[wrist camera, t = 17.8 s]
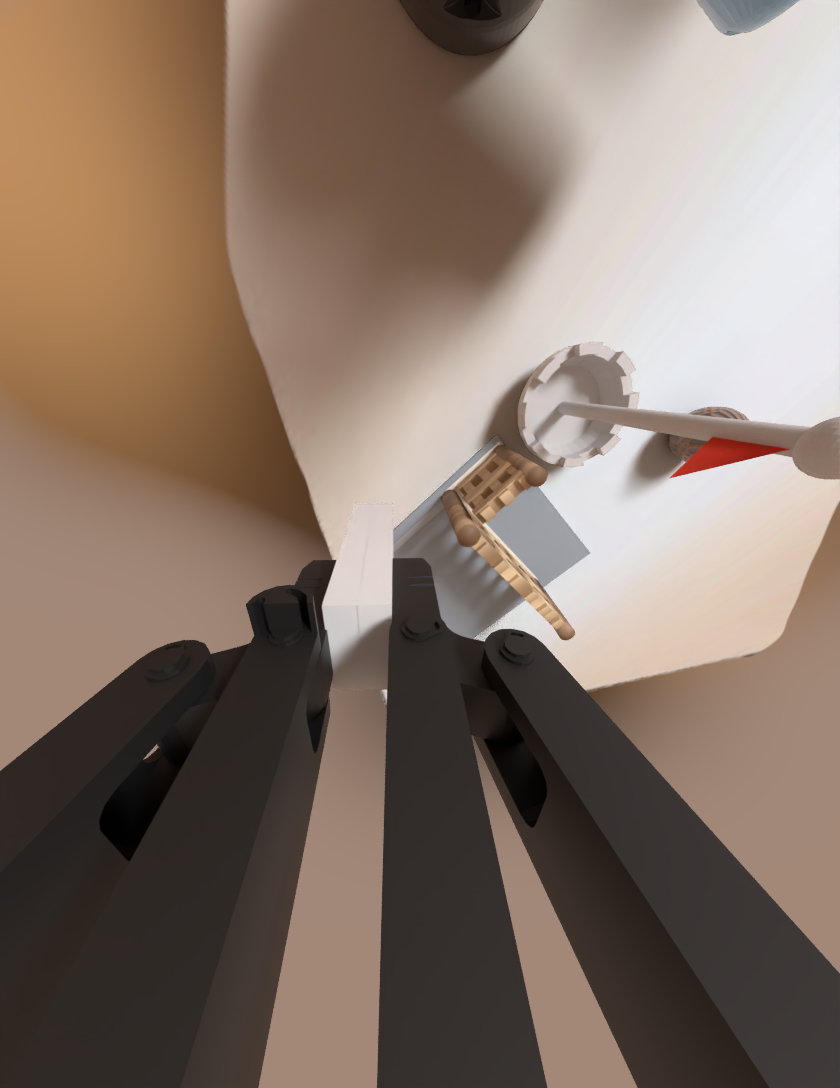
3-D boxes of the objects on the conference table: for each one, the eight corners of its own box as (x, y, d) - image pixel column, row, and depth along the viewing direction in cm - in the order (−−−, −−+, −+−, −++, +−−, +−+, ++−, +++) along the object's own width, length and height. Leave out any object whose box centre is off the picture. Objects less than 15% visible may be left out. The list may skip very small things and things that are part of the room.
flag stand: (598, 324, 36) (1153, 165, 10) (618, 429, 42) (1003, 510, 16) (494, 381, 38) (723, 378, 12) (527, 474, 44) (729, 615, 17)
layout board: (345, 574, 49) (344, 576, 49) (496, 434, 41) (497, 435, 41) (449, 653, 59) (449, 655, 58) (588, 551, 51) (590, 553, 50)
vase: (708, 448, 44) (775, 461, 36) (658, 465, 45) (714, 482, 37) (712, 397, 41) (787, 400, 33) (659, 416, 42) (720, 423, 34)
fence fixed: (437, 496, 44) (452, 537, 33) (499, 439, 42) (540, 461, 30) (448, 507, 45) (467, 551, 34) (510, 453, 42) (554, 479, 31)
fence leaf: (453, 512, 45) (471, 551, 34) (464, 502, 44) (485, 539, 34) (530, 590, 52) (564, 642, 42) (540, 582, 51) (577, 633, 41)
